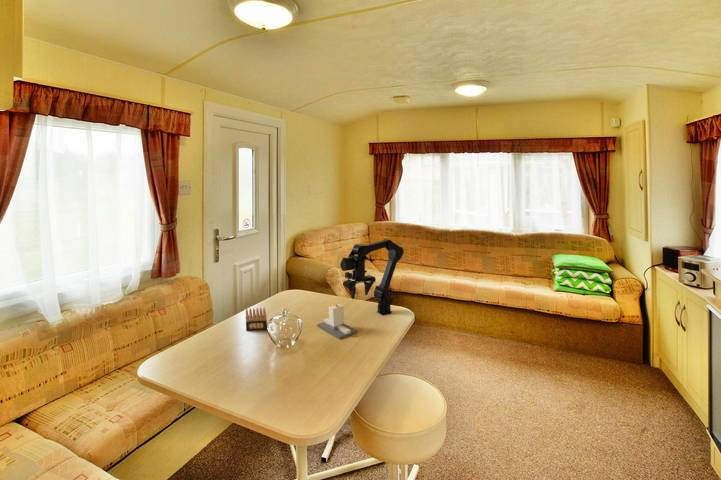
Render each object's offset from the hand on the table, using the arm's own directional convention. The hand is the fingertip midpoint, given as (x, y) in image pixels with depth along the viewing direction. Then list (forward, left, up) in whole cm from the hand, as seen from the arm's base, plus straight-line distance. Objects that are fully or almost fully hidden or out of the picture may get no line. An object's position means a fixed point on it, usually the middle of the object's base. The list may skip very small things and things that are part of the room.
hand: (359, 296), depth 183 cm
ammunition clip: (+52, -16, -13) cm, 56 cm away
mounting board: (+16, +5, -13) cm, 21 cm away
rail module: (+16, +5, -12) cm, 20 cm away
